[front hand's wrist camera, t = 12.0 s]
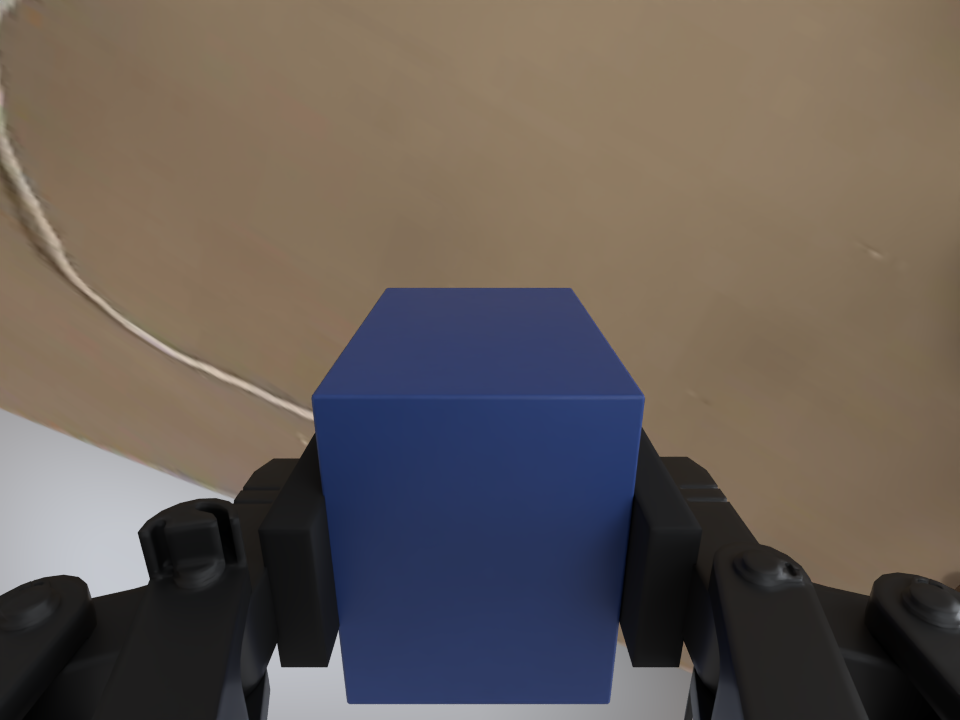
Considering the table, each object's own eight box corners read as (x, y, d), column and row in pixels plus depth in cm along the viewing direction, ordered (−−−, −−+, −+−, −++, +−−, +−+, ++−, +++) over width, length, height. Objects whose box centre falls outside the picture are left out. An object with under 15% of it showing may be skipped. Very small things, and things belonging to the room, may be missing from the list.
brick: (398, 491, 17) (346, 705, 10) (385, 287, 15) (309, 395, 8) (559, 491, 17) (610, 706, 10) (571, 287, 15) (646, 395, 8)
